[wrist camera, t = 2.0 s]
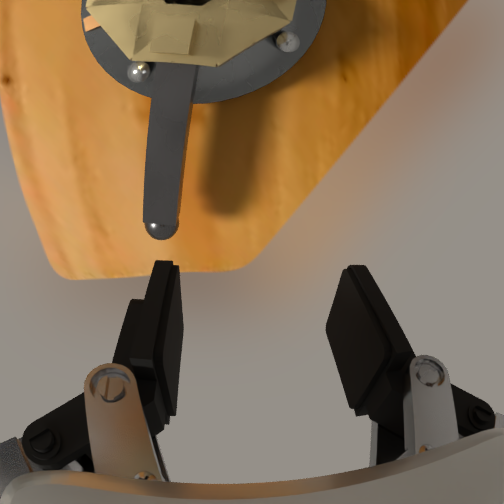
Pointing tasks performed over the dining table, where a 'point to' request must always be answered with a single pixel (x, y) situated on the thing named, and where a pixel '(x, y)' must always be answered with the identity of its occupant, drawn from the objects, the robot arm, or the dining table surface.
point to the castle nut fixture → (181, 75)
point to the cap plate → (222, 78)
